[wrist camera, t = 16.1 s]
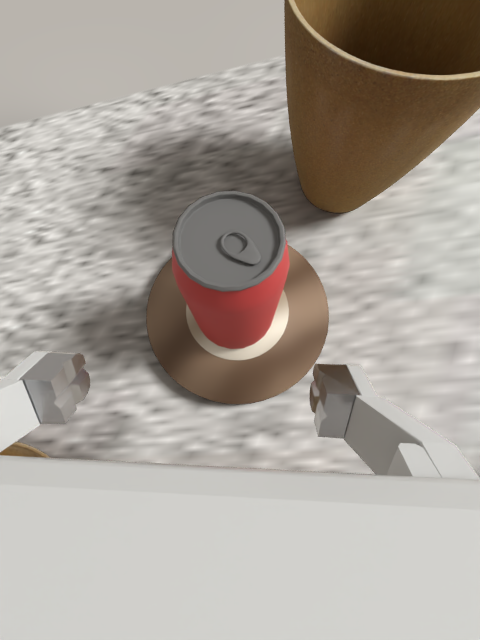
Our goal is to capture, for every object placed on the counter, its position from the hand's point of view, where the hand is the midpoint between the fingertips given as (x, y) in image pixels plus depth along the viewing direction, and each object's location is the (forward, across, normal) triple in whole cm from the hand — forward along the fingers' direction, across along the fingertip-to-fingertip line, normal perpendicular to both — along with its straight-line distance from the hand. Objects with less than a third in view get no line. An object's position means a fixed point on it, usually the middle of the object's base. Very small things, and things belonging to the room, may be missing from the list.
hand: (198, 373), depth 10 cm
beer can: (+15, +1, -5) cm, 16 cm away
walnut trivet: (+16, +1, -6) cm, 17 cm away
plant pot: (+27, +10, +5) cm, 29 cm away
